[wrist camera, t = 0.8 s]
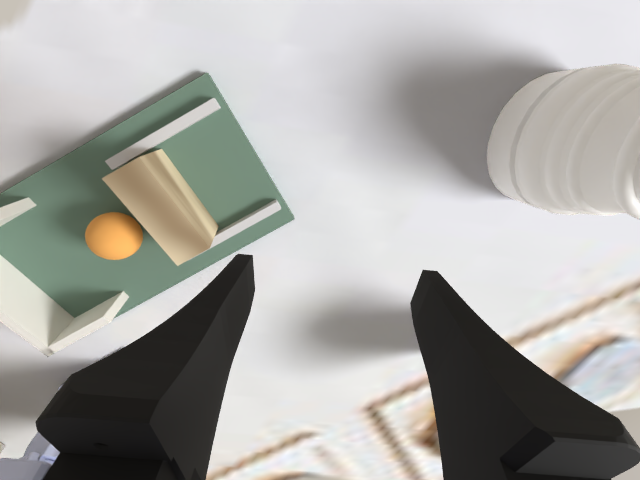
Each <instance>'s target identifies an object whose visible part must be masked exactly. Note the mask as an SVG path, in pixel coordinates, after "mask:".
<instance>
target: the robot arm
mask: <svg viewBox="0 0 640 480" xmlns="http://www.w3.org/2000/svg"><path fill="white" fill-rule="evenodd" d="M254 292H255V283H254V269H253V255H244V254H237V255H236V256H235V257H234V258H233V259H232V260H231V262H230V263H229V264H228V265H227V266H226V267H225V268H224V269H223V270H222V271H221V272H220V273H219V275H218V276H217V277H216V278H215V279H214V280H213V281H212V282H211V283H210V284H209V285H208V286H207V287H206V288H204V289H203V290H202V291H201V292H200V293H199V294H198V295H197V296H196V297H195V298H193V299H192V300H191V301H190V302H189V303H188V304H187V305H185V306H184V307H183V308H182V309H180V310H179V311H178V312H177V313H175V314H174V315H173V316H171V317H170V318H169V319H167V320H166V321H165V322H163V323H162V324H160V325H159V326H158V327H156V328H155V329H153V330H152V331H150V332H149V333H147V334H146V335H144V336H143V337H141V338H139V339H138V340H136V341H134V342H133V343H131V344H129V345H128V346H126V347H124V348H122V349H121V350H119V351H117V352H115V353H113V354H112V355H110V356H108V357H106V358H104V359H102V360H100V361H98V362H96V363H94V364H92V365H90V366H88V367H86V368H84V369H82V370H80V371H78V372H76V373H74V374H72V375H71V376H70V377H69V378H68V380H67V381H66V382H65V383H64V384H62V385H61V386H60V387H59V388H58V392H57V393H56V395H55V396H54V398H53V399H52V400H51V402H50V403H49V404H48V406H47V407H46V408H45V410H44V411H43V412H42V414H41V415H40V417H39V418H38V419H37V421H36V427H37V431H38V432H37V434H36V435H35V437H34V438H33V439H32V441H31V442H30V444H29V445H28V447H27V449H26V451H25V453H24V456H23V457H21V458H19V459H11V458H1V459H0V480H206V474H207V469H208V465H209V460H210V455H211V450H212V445H213V440H214V436H215V431H216V427H217V422H218V418H219V413H220V409H221V405H222V400H223V396H224V392H225V388H226V384H227V380H228V376H229V372H230V368H231V365H232V362H233V359H234V356H235V353H236V350H237V347H238V345H239V342H240V339H241V336H242V333H243V331H244V328H245V325H246V322H247V319H248V316H249V313H250V310H251V306H252V301H253V297H254ZM411 311H412V318H413V325H414V329H415V332H416V336H417V340H418V343H419V347H420V350H421V354H422V357H423V361H424V364H425V368H426V371H427V375H428V379H429V383H430V388H431V393H432V399H433V405H434V410H435V417H436V423H437V430H438V437H439V444H440V452H441V460H442V469H443V478H444V480H611V478H613V477H615V476H617V475H619V474H620V473H623V472H625V471H627V470H628V469H630V468H632V467H634V466H635V465H636V464H638V463H639V462H640V448H639V446H638V445H637V444H636V442H635V441H634V439H633V438H632V437H631V435H630V434H629V432H628V431H627V430H626V428H625V427H624V425H623V424H622V423H621V421H620V420H619V419H618V418H617V417H615V416H613V415H611V414H610V413H608V412H607V411H605V410H603V409H602V408H600V407H598V406H597V405H595V404H593V403H592V402H590V401H588V400H587V399H585V398H583V397H581V396H580V395H578V394H577V393H575V392H574V391H572V390H571V389H569V388H568V387H566V386H565V385H563V384H562V383H560V382H559V381H557V380H556V379H554V378H553V377H551V376H550V375H548V374H547V373H546V372H544V371H543V370H541V369H540V368H539V367H537V366H536V365H535V364H533V363H532V362H531V361H529V360H528V359H527V358H525V357H524V356H523V355H522V354H520V353H519V352H518V351H517V350H515V349H514V348H513V347H512V346H511V345H509V344H508V343H507V342H506V341H505V340H504V339H502V338H501V337H500V336H499V335H498V334H497V333H496V332H495V331H493V330H492V329H491V328H490V327H489V326H488V325H487V324H486V323H485V322H484V321H483V320H482V319H481V318H480V317H479V316H478V315H477V314H476V313H475V312H474V311H473V310H472V309H471V308H470V307H469V306H468V305H467V304H466V302H465V301H464V300H463V299H462V298H461V297H460V296H459V295H458V294H457V293H456V291H455V290H454V289H453V288H452V287H451V286H450V285H449V284H448V282H447V281H446V280H445V279H444V278H443V277H442V276H441V275H440V274H439V273H438V271H429V270H423V271H422V274H421V276H420V279H419V282H418V284H417V287H416V290H415V292H414V295H413V298H412V300H411Z"/></svg>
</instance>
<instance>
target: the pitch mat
mask: <svg viewBox="0 0 640 480" xmlns="http://www.w3.org/2000/svg"><path fill="white" fill-rule="evenodd" d="M160 149H162V150H163V151H164V152H165V154H166V155H167V156H168V158H169V159H170V160H171V162H172V163H173V165H174V166H175V167H176V169H177V170H178V171H179V173H180V174H181V175H182V177H183V178H184V180H185V181H186V182H187V184H188V185H189V186H190V188H191V189H192V190H193V192H194V193H195V194H196V196H197V197H198V199H199V200H200V201H201V203H202V204H203V205H204V207H205V208H206V209H207V211H208V212H209V214H210V215H211V216H212V218H213V219H214V220H215V222H216V223H217V224H218V226H219V227H218V229H217V232H216V234H215V237H214V239H213V242H212V244H211V247H210V248H209V249H207V250H206V251H204V252H202V253H200V254H198V255H197V256H195V257H193V258H191V259H189V260H188V261H186V262H184V263H182V264H180V265H179V266H177V265H176V264H175V263H174V261H173V260H172V259H171V258H170V257H169V256H168V255H167V253H166V252H165V251H164V250H163V249H162V248H161V246H160V245H159V244H158V243H157V242H156V241H155V240H154V238H153V237H152V236H151V235H150V234H149V233H148V231H147V230H146V229H145V228H144V227H143V226H142V225H141V223H140V222H139V221H138V220H137V219H136V218H135V216H134V215H133V214H132V213H131V212H130V211H129V209H128V208H127V207H126V206H125V205H124V204H123V203H122V201H121V200H120V199H119V198H118V197H117V196H116V194H115V193H114V192H113V191H112V190H111V189H110V188H109V186H108V185H107V184H106V183H105V182H104V181H103V179H102V178H103V177H105V176H107V175H109V174H110V173H112V172H114V171H116V170H117V169H119V168H121V167H122V166H124V165H126V164H128V163H129V162H131V161H133V160H135V159H136V158H138V157H140V156H143V155H146V154H149V153H151V152H154V151H157V150H160ZM28 197H29V198H30V199H31V200H32V201H33V202H34V203H35V204H36V206H35V207H33V208H31V209H30V210H28V211H26V212H24V213H23V214H21V215H19V216H17V217H16V218H14V219H12V220H11V221H9V222H7V223H5V224H4V225H2V226H0V255H1V256H2V257H3V258H5V259H6V260H7V261H8V262H9V263H10V264H12V265H13V266H14V267H15V268H16V269H18V270H19V271H20V272H21V273H22V274H23V275H25V276H26V277H27V278H28V279H29V280H30V281H32V282H33V283H34V284H35V285H36V286H37V287H39V288H40V289H41V290H42V291H43V292H44V293H46V294H47V295H48V296H49V297H50V298H51V299H53V300H54V301H55V302H56V303H57V304H58V305H60V306H61V307H62V308H63V309H64V310H65V311H67V312H68V313H69V314H70V315H71V316H73V317H74V318H76V317H77V316H79V315H81V314H83V313H85V312H86V311H88V310H90V309H92V308H94V307H95V306H97V305H99V304H101V303H103V302H104V301H106V300H108V299H110V298H112V297H114V296H115V295H117V294H119V293H121V292H123V291H124V292H125V293H126V294H127V295H128V296H129V298H128V299H127V301H126V302H125V303H124V305H123V306H122V307H121V309H120V310H119V311H118V313H117V314H116V316H115V317H114V318H116V317H117V316H119V315H121V314H123V313H125V312H127V311H128V310H130V309H132V308H134V307H136V306H137V305H139V304H141V303H143V302H145V301H147V300H148V299H150V298H152V297H154V296H156V295H157V294H159V293H161V292H163V291H165V290H167V289H168V288H170V287H172V286H174V285H176V284H177V283H179V282H181V281H183V280H185V279H187V278H188V277H190V276H192V275H194V274H196V273H197V272H199V271H201V270H203V269H205V268H207V267H208V266H210V265H212V264H214V263H216V262H217V261H219V260H221V259H223V258H225V257H227V256H228V255H230V254H232V253H234V252H236V251H237V250H239V249H241V248H243V247H245V246H246V245H248V244H250V243H252V242H254V241H256V240H257V239H259V238H261V237H263V236H265V235H266V234H268V233H270V232H272V231H274V230H276V229H277V228H279V227H281V226H283V225H285V224H286V223H288V222H290V221H292V220H294V216H293V214H292V213H291V211H290V209H289V208H288V206H287V204H286V203H285V201H284V199H283V198H282V196H281V194H280V192H279V191H278V189H277V187H276V186H275V184H274V182H273V181H272V179H271V177H270V176H269V174H268V172H267V171H266V169H265V167H264V166H263V164H262V162H261V161H260V159H259V157H258V155H257V154H256V152H255V150H254V149H253V147H252V145H251V144H250V142H249V140H248V139H247V137H246V135H245V134H244V132H243V130H242V129H241V127H240V125H239V124H238V122H237V120H236V118H235V117H234V115H233V113H232V112H231V110H230V108H229V107H228V105H227V103H226V102H225V100H224V98H223V97H222V95H221V93H220V92H219V90H218V88H217V87H216V85H215V83H214V82H213V80H212V78H211V76H210V75H209V73H205V74H204V75H202V76H200V77H198V78H197V79H195V80H193V81H192V82H190V83H188V84H187V85H185V86H183V87H181V88H180V89H178V90H176V91H175V92H173V93H171V94H169V95H168V96H166V97H164V98H163V99H161V100H159V101H158V102H156V103H154V104H152V105H151V106H149V107H147V108H146V109H144V110H142V111H140V112H139V113H137V114H135V115H134V116H132V117H130V118H129V119H127V120H125V121H123V122H122V123H120V124H118V125H117V126H115V127H113V128H111V129H110V130H108V131H106V132H105V133H103V134H101V135H100V136H98V137H96V138H94V139H93V140H91V141H89V142H88V143H86V144H84V145H83V146H81V147H79V148H77V149H76V150H74V151H72V152H71V153H69V154H67V155H65V156H64V157H62V158H60V159H59V160H57V161H55V162H54V163H52V164H50V165H48V166H47V167H45V168H43V169H42V170H40V171H38V172H36V173H35V174H33V175H31V176H30V177H28V178H26V179H25V180H23V181H21V182H19V183H18V184H16V185H14V186H13V187H11V188H9V189H7V190H6V191H4V192H2V193H1V194H0V207H3V206H6V205H9V204H11V203H14V202H17V201H20V200H22V199H25V198H28ZM109 212H119V213H123V214H126V215H128V216H130V217H132V218H133V219H135V220H136V221H137V222H138V224H139V225H140V227H141V229H142V232H143V240H142V243H141V246H140V247H139V249H138V250H137V251H136V252H135V253H134V254H133V255H131V256H129V257H127V258H124V259H120V260H109V259H104V258H101V257H99V256H97V255H96V254H94V253H93V252H92V251H91V250H90V249H89V247H88V245H87V243H86V240H85V232H86V229H87V226H88V225H89V223H90V222H91V221H92V220H93V219H94V218H96V217H97V216H99V215H101V214H104V213H109ZM114 318H113V319H114Z"/></svg>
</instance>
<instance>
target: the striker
mask: <svg viewBox="0 0 640 480" xmlns="http://www.w3.org/2000/svg"><path fill="white" fill-rule="evenodd" d="M102 179H103V181H104V182H105V183H106V184H107V185H108V186H109V188H110V189H111V190H112V191H113V192H114V193H115V194H116V196H117V197H118V198H119V199H120V200H121V201H122V203H123V204H124V205H125V206H126V207H127V208H128V209H129V211H130V212H131V213H132V214H133V215H134V216H135V218H136V219H137V220H138V221H139V222H140V223H141V225H142V226H143V227H144V228H145V229H146V230H147V231H148V233H149V234H150V235H151V236H152V237H153V238H154V240H155V241H156V242H157V243H158V244H159V245H160V246H161V248H162V249H163V250H164V251H165V252H166V253H167V255H168V256H169V257H170V258H171V259H172V260H173V261H174V263H175V264H176V265H177V266H179V265H180V264H182V263H184V262H186V261H188V260H189V259H191V258H193V257H195V256H197V255H198V254H200V253H202V252H204V251H206V250H207V249H209V248H210V247H211V244H212V242H213V239H214V237H215V234H216V232H217V229H218V227H219V226H218V224H217V223H216V222H215V220H214V219H213V218H212V216H211V215H210V214H209V212H208V211H207V209H206V208H205V207H204V205H203V204H202V203H201V201H200V200H199V199H198V197H197V196H196V194H195V193H194V192H193V190H192V189H191V188H190V186H189V185H188V184H187V182H186V181H185V180H184V178H183V177H182V175H181V174H180V173H179V171H178V170H177V169H176V167H175V166H174V165H173V163H172V162H171V160H170V159H169V158H168V156H167V155H166V154H165V152H164V151H163V150H162V149H160V150H157V151H154V152H151V153H149V154H146V155H143V156H140V157H138V158H136V159H135V160H133V161H131V162H129V163H128V164H126V165H124V166H122V167H121V168H119V169H117V170H116V171H114V172H112V173H110V174H109V175H107V176H105V177H103V178H102Z"/></svg>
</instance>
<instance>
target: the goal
mask: <svg viewBox="0 0 640 480" xmlns="http://www.w3.org/2000/svg"><path fill="white" fill-rule="evenodd" d="M35 206H36V204H35V203H34V202H33V201H32V200H31V199H30V198H29V197H28V198H25V199H22V200H20V201H17V202H14V203H11V204H9V205H6V206H3V207H0V226H2V225H4V224H5V223H7V222H9V221H11V220H12V219H14V218H16V217H17V216H19V215H21V214H23V213H24V212H26V211H28V210H30V209H31V208H33V207H35ZM128 298H129V296H128V295H127V294H126V293H125V292H124V291H123V292H121V293H119V294H117V295H115V296H114V297H112V298H110V299H108V300H106V301H104V302H103V303H101V304H99V305H97V306H95V307H94V308H92V309H90V310H88V311H86V312H85V313H83V314H81V315H79V316H77V317H76V318H74V317H73V316H71V315H70V314H69V313H68V312H67V311H65V310H64V309H63V308H62V307H61V306H60V305H58V304H57V303H56V302H55V301H54V300H53V299H51V298H50V297H49V296H48V295H47V294H46V293H44V292H43V291H42V290H41V289H40V288H39V287H37V286H36V285H35V284H34V283H33V282H32V281H30V280H29V279H28V278H27V277H26V276H25V275H23V274H22V273H21V272H20V271H19V270H18V269H16V268H15V267H14V266H13V265H12V264H10V263H9V262H8V261H7V260H6V259H5V258H3V257H2V256H1V255H0V322H2V323H3V324H4V325H6V326H7V327H8V328H10V329H11V330H12V331H14V332H15V333H16V334H18V335H19V336H20V337H22V338H23V339H24V340H26V341H27V342H28V343H30V344H31V345H32V346H34V347H35V348H36V349H38V350H39V351H40V352H42V353H43V354H44V355H46V356H47V357H49V356H51V355H52V354H54V353H56V352H58V351H60V350H62V349H63V348H65V347H67V346H69V345H71V344H72V343H74V342H76V341H78V340H80V339H82V338H83V337H85V336H87V335H89V334H91V333H92V332H94V331H96V330H98V329H100V328H102V327H103V326H105V325H107V324H109V323H110V322H111V321H112V320H113V318H114V317H115V316H116V314H117V313H118V311H119V310H120V309H121V307H122V306H123V305H124V303H125V302H126V301H127V299H128Z"/></svg>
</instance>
